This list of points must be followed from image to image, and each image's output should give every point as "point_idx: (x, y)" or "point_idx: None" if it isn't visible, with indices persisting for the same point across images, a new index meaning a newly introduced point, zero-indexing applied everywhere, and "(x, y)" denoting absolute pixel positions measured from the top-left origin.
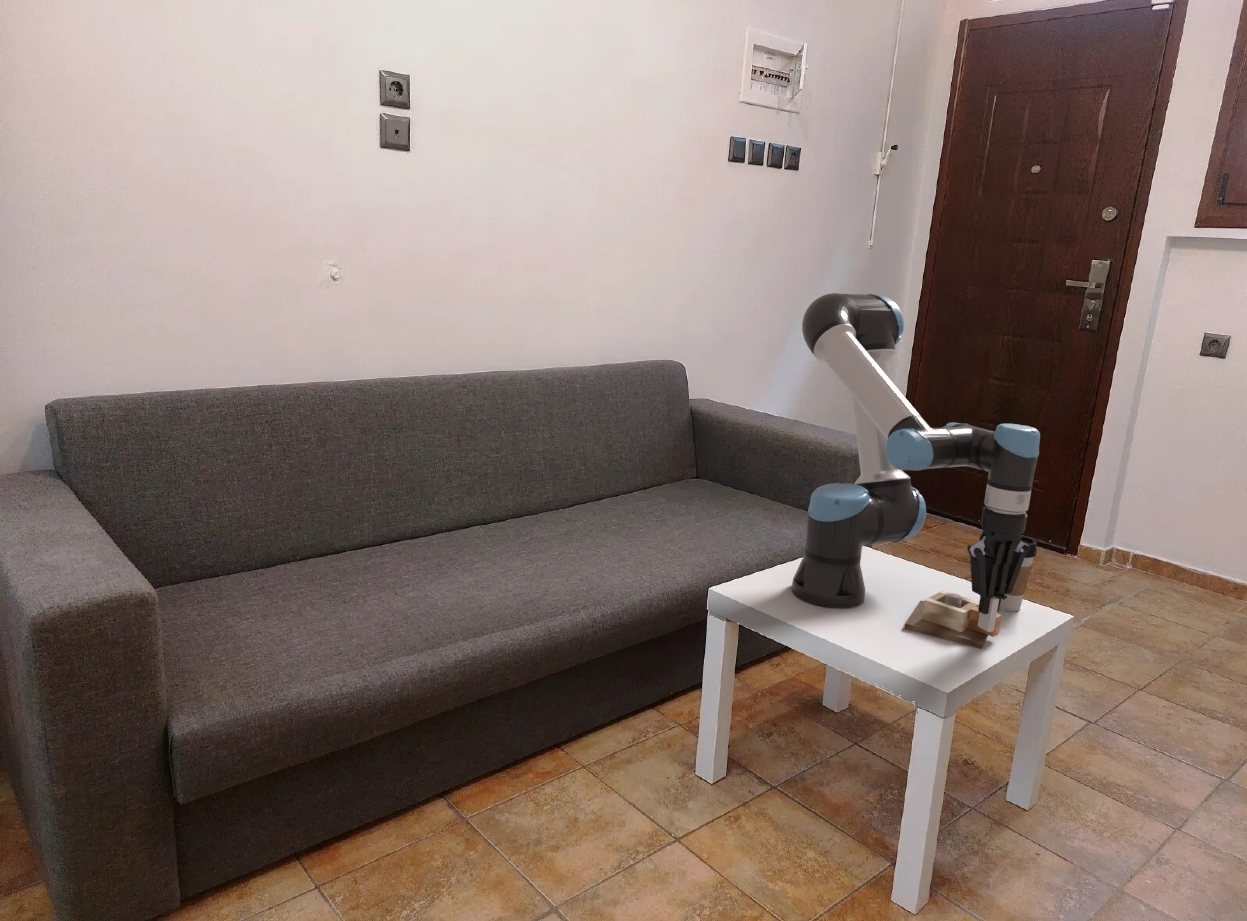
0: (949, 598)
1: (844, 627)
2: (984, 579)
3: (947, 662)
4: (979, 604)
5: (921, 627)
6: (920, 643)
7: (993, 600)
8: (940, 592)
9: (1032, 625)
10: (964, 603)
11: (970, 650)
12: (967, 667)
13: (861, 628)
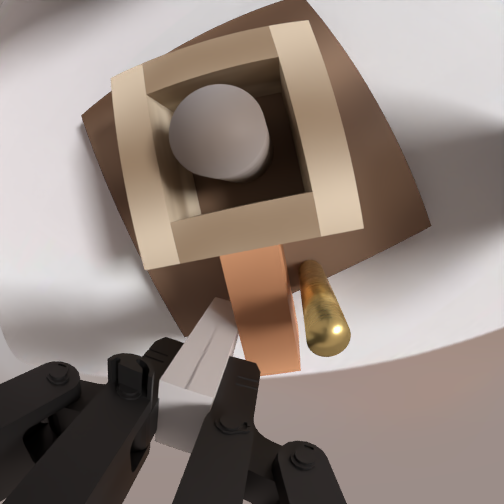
0: (170, 137)
1: (14, 82)
2: (14, 481)
3: (58, 314)
4: (143, 357)
5: (97, 156)
6: (64, 211)
7: (161, 438)
8: (270, 30)
9: (494, 294)
10: (304, 158)
11: (150, 313)
12: (81, 353)
13: (29, 92)
